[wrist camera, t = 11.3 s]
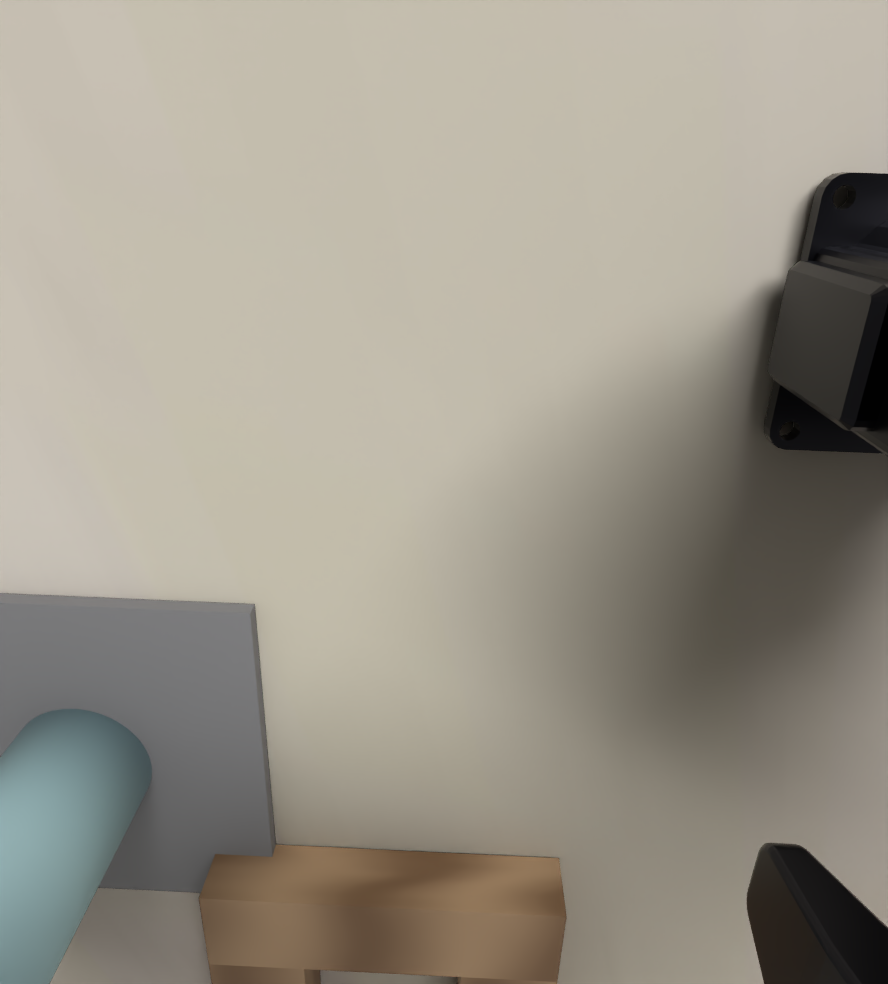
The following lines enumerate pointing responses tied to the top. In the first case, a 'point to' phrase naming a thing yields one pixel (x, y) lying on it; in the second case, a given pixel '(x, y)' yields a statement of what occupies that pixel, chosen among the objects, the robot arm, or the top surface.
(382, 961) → the pocket block
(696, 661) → the top surface
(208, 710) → the mat
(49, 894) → the peg
